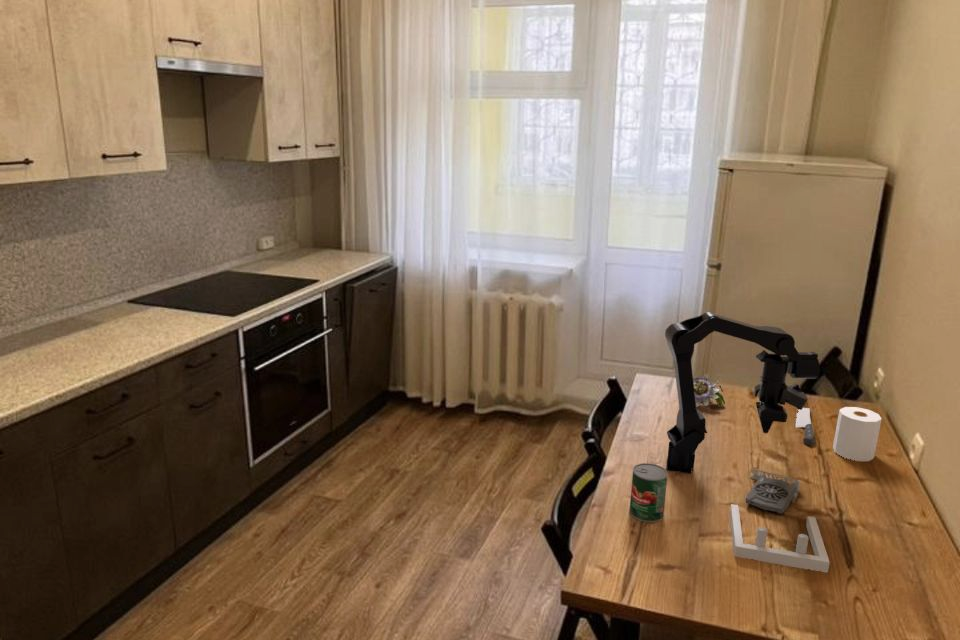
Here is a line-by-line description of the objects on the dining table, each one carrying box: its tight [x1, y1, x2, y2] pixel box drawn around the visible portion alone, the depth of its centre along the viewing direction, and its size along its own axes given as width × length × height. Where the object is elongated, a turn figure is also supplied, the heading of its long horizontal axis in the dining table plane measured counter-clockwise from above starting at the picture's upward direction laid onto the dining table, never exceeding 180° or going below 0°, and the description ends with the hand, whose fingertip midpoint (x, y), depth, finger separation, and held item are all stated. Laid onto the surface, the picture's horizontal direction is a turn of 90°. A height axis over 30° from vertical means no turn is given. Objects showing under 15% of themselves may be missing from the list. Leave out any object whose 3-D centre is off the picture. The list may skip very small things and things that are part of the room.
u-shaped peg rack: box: [729, 503, 831, 574], centre depth 152 cm, size 18×18×6 cm
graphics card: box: [745, 468, 801, 514], centre depth 171 cm, size 17×4×12 cm
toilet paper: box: [832, 406, 882, 462], centre depth 193 cm, size 10×10×12 cm
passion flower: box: [693, 373, 726, 408], centre depth 226 cm, size 11×11×12 cm
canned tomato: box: [628, 462, 669, 523], centre depth 161 cm, size 8×8×11 cm
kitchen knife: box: [795, 407, 815, 447], centre depth 212 cm, size 29×3×5 cm
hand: (765, 432), depth 182 cm, fingers closed
